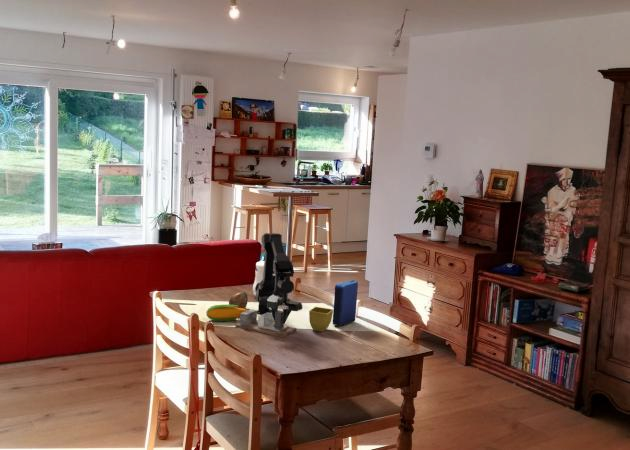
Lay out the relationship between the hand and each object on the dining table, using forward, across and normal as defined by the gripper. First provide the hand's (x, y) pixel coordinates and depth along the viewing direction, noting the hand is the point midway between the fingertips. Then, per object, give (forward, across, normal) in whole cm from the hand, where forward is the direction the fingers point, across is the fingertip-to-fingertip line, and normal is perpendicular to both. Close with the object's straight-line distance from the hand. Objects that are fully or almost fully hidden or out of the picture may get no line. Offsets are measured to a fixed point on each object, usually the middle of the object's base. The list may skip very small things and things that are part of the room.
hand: (279, 322), depth 300 cm
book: (+4, +18, +29) cm, 34 cm away
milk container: (+4, -34, +48) cm, 59 cm away
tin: (+4, -33, +17) cm, 37 cm away
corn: (+4, -28, +1) cm, 28 cm away
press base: (+4, -7, 0) cm, 8 cm away
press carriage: (+3, -3, 0) cm, 4 cm away
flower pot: (+4, +13, +14) cm, 20 cm away
